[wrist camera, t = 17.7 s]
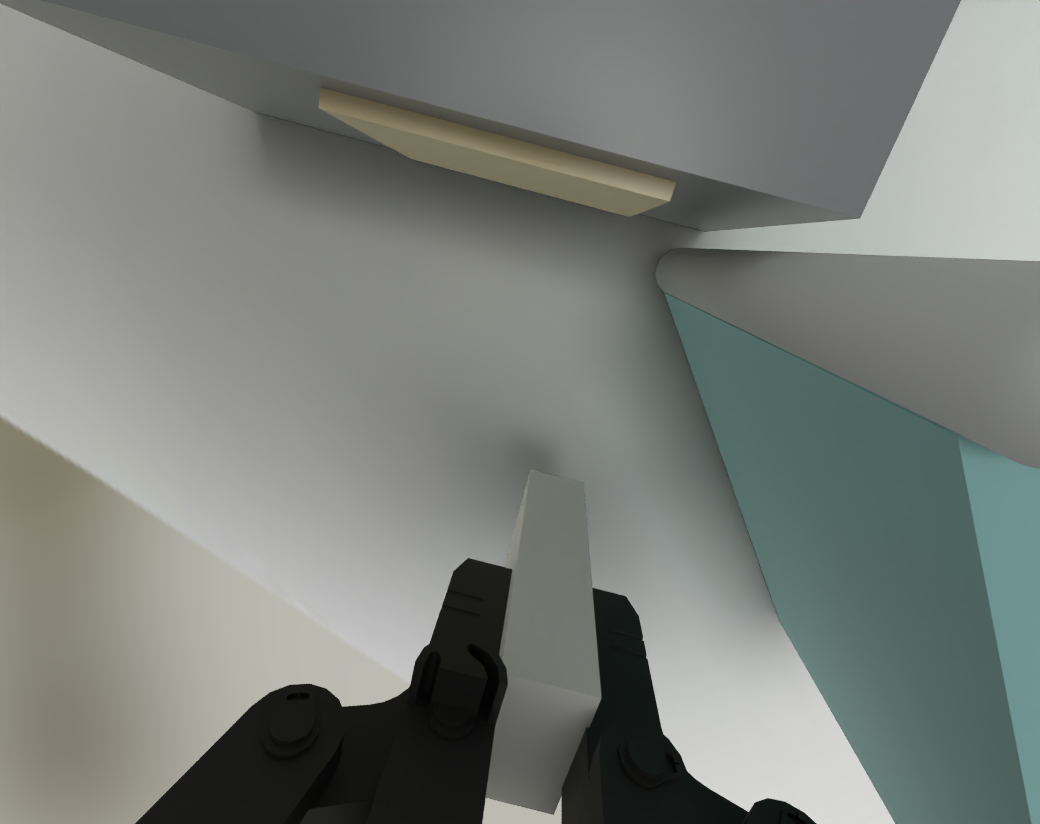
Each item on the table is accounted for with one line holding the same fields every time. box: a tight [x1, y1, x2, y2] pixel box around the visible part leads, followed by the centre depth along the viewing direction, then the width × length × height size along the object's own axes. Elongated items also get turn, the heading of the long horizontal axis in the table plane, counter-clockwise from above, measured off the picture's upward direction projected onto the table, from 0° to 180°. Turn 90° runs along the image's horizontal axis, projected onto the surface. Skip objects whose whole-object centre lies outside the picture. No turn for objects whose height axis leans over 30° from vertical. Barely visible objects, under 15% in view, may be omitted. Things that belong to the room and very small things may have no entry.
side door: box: [655, 248, 1040, 824], centre depth 11 cm, size 15×2×12 cm, turn 24°
